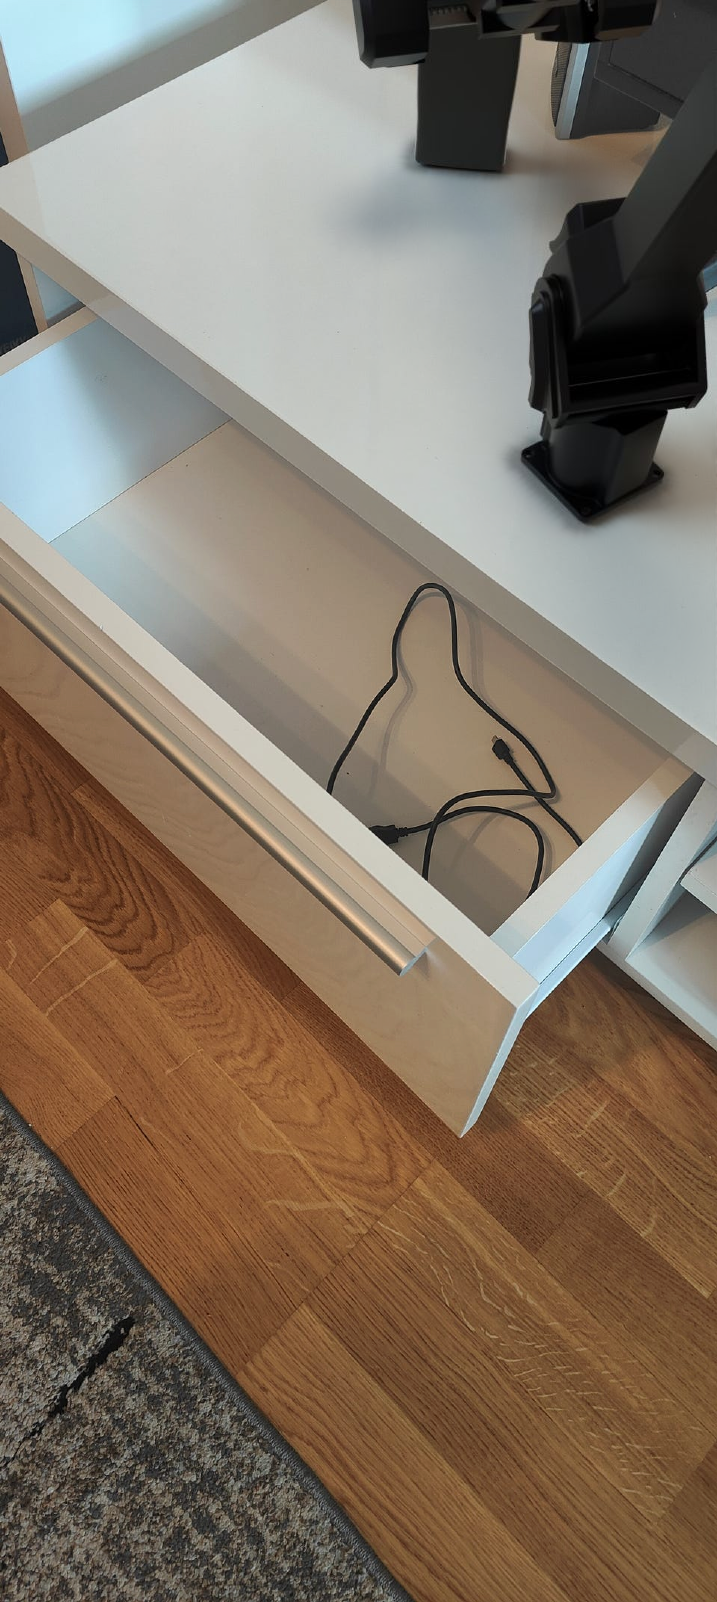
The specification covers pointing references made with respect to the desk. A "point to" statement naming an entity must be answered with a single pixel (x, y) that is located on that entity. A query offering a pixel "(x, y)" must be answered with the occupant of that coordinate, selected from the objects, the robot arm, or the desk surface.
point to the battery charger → (466, 98)
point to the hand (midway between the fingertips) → (471, 38)
